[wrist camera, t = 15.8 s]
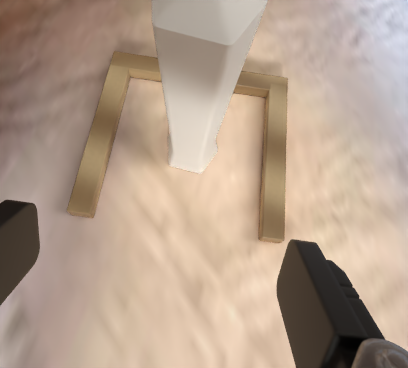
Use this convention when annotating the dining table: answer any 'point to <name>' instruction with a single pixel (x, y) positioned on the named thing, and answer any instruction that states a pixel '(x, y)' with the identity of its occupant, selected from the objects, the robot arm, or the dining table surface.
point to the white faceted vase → (200, 69)
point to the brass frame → (149, 69)
